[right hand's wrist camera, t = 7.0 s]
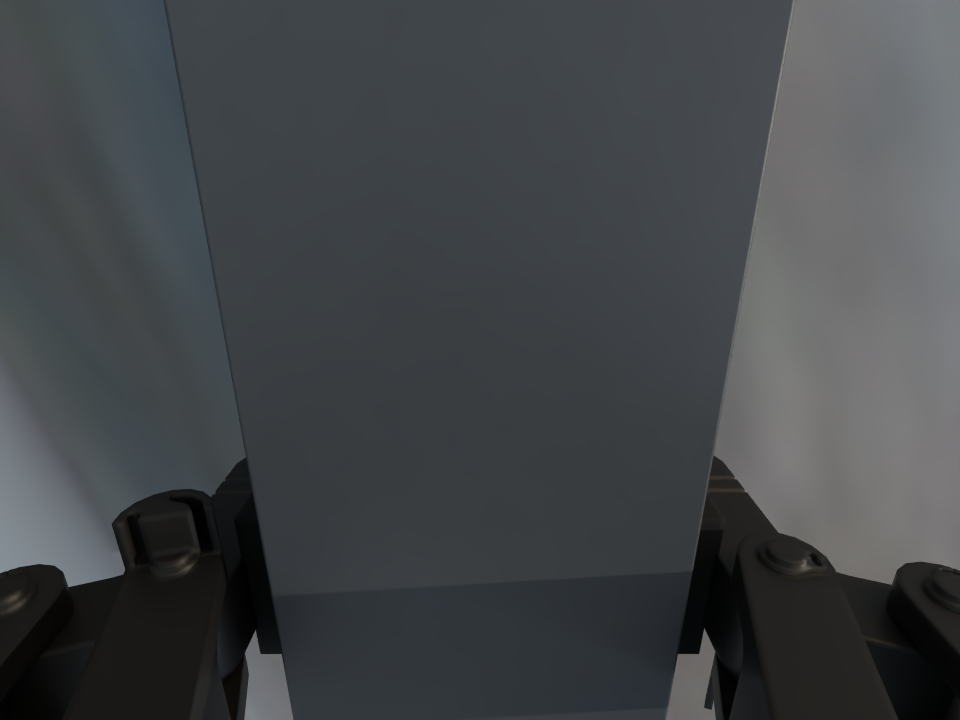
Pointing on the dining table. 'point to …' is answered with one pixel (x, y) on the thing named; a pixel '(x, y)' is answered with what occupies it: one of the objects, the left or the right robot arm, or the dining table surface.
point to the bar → (479, 328)
